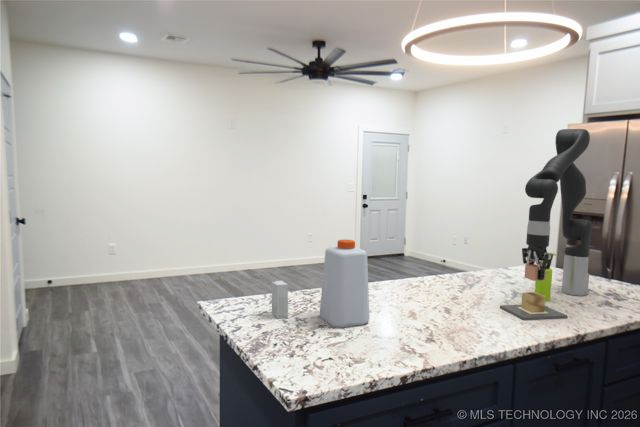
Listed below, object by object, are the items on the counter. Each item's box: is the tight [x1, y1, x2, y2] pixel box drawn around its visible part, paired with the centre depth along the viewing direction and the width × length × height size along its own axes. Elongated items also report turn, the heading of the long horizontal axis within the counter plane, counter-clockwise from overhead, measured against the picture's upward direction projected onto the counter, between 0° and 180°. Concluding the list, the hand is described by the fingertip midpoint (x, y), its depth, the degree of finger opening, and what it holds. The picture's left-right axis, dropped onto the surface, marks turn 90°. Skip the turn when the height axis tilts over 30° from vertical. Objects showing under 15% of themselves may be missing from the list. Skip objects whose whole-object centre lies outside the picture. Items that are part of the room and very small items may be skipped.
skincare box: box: [270, 279, 289, 320], centre depth 146 cm, size 6×4×12 cm
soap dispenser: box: [534, 251, 557, 302], centre depth 173 cm, size 6×7×20 cm
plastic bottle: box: [319, 239, 370, 328], centre depth 143 cm, size 15×15×28 cm
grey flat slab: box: [499, 304, 568, 321], centre depth 156 cm, size 18×14×1 cm
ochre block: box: [520, 291, 546, 313], centre depth 156 cm, size 6×6×6 cm
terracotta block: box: [524, 263, 546, 282], centre depth 155 cm, size 5×5×5 cm
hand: (535, 277), depth 155 cm, fingers closed on terracotta block, 5 cm apart
